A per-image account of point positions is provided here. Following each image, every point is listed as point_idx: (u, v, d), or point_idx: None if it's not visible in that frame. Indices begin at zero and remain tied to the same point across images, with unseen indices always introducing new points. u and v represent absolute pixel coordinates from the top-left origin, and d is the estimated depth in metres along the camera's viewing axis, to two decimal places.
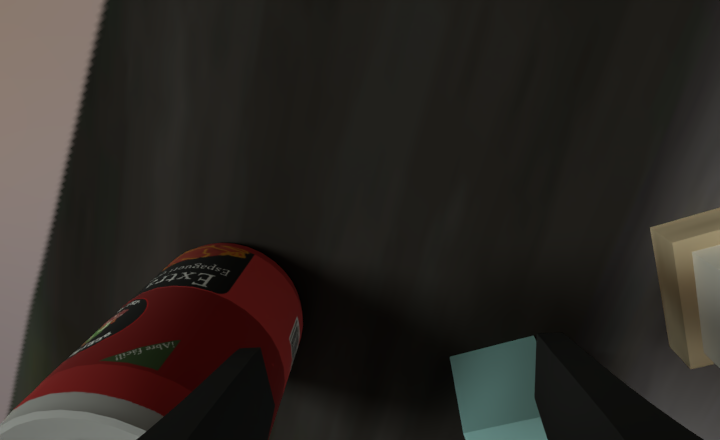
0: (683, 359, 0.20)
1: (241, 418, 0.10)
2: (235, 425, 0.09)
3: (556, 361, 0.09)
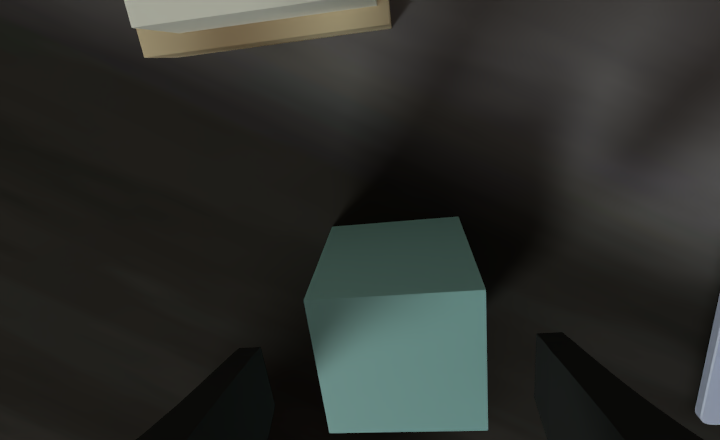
0: (385, 26, 0.11)
1: (241, 418, 0.10)
2: (235, 425, 0.09)
3: (556, 361, 0.09)
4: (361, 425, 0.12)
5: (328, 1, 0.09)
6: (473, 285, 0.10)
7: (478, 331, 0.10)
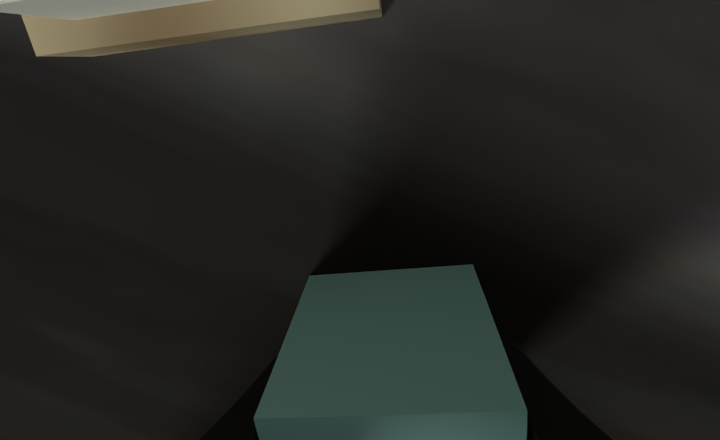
0: (372, 12, 0.08)
1: None
2: None
3: None
4: None
5: None
6: (507, 399, 0.07)
7: None
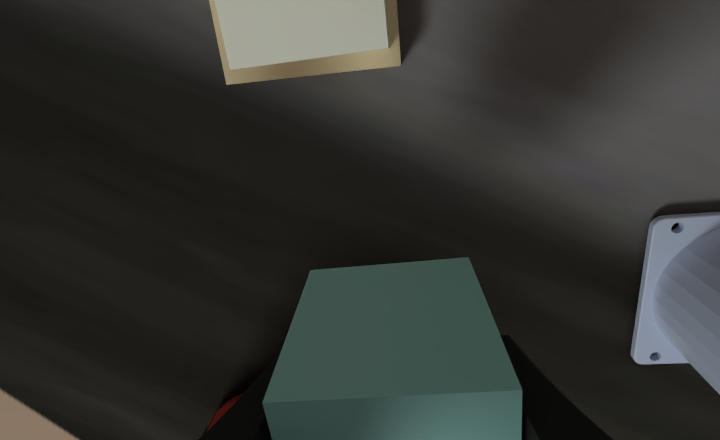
0: None
1: None
2: None
3: None
4: None
5: None
6: (503, 380, 0.07)
7: None
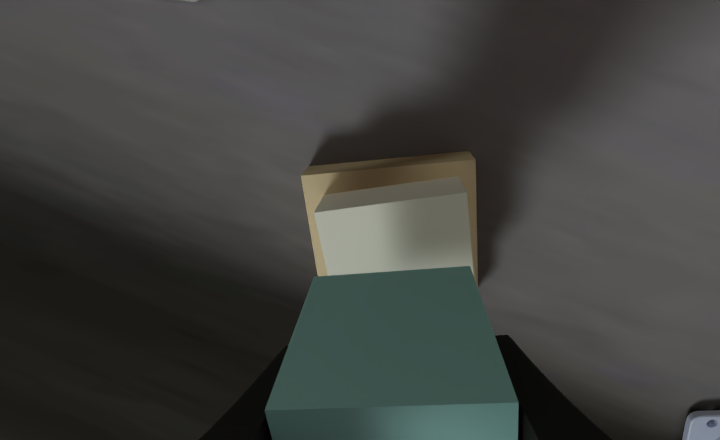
0: None
1: None
2: None
3: None
4: None
5: None
6: (500, 392, 0.07)
7: None
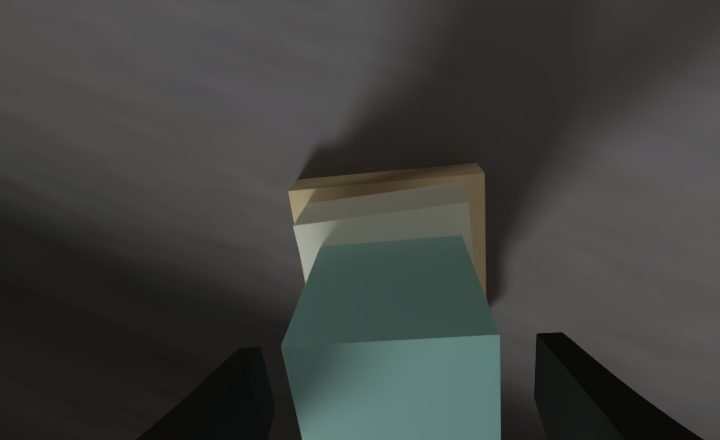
0: None
1: (241, 418, 0.10)
2: (235, 425, 0.09)
3: (556, 361, 0.09)
4: None
5: None
6: (484, 327, 0.09)
7: (490, 382, 0.09)
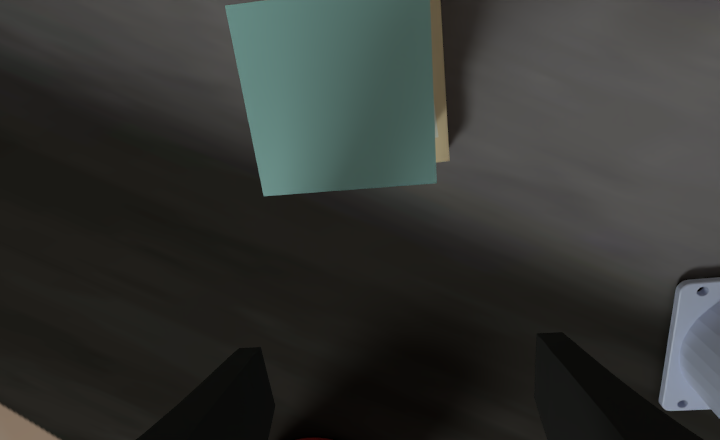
0: None
1: (241, 418, 0.10)
2: (235, 425, 0.09)
3: (556, 361, 0.09)
4: (298, 182, 0.11)
5: None
6: None
7: (422, 41, 0.09)
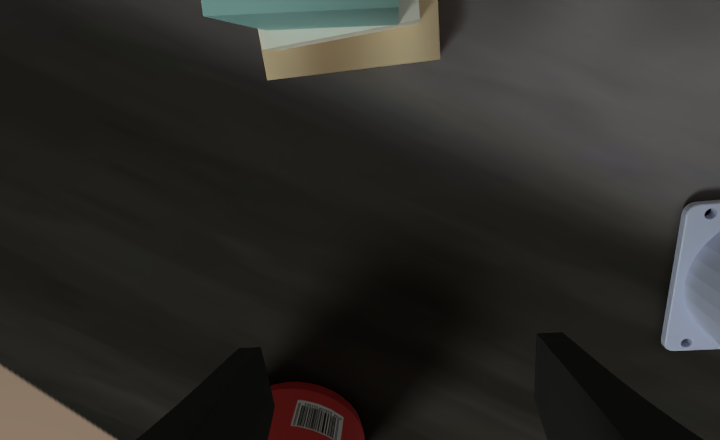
0: None
1: (241, 418, 0.10)
2: (235, 425, 0.09)
3: (556, 361, 0.09)
4: (242, 0, 0.09)
5: (390, 25, 0.14)
6: None
7: None
